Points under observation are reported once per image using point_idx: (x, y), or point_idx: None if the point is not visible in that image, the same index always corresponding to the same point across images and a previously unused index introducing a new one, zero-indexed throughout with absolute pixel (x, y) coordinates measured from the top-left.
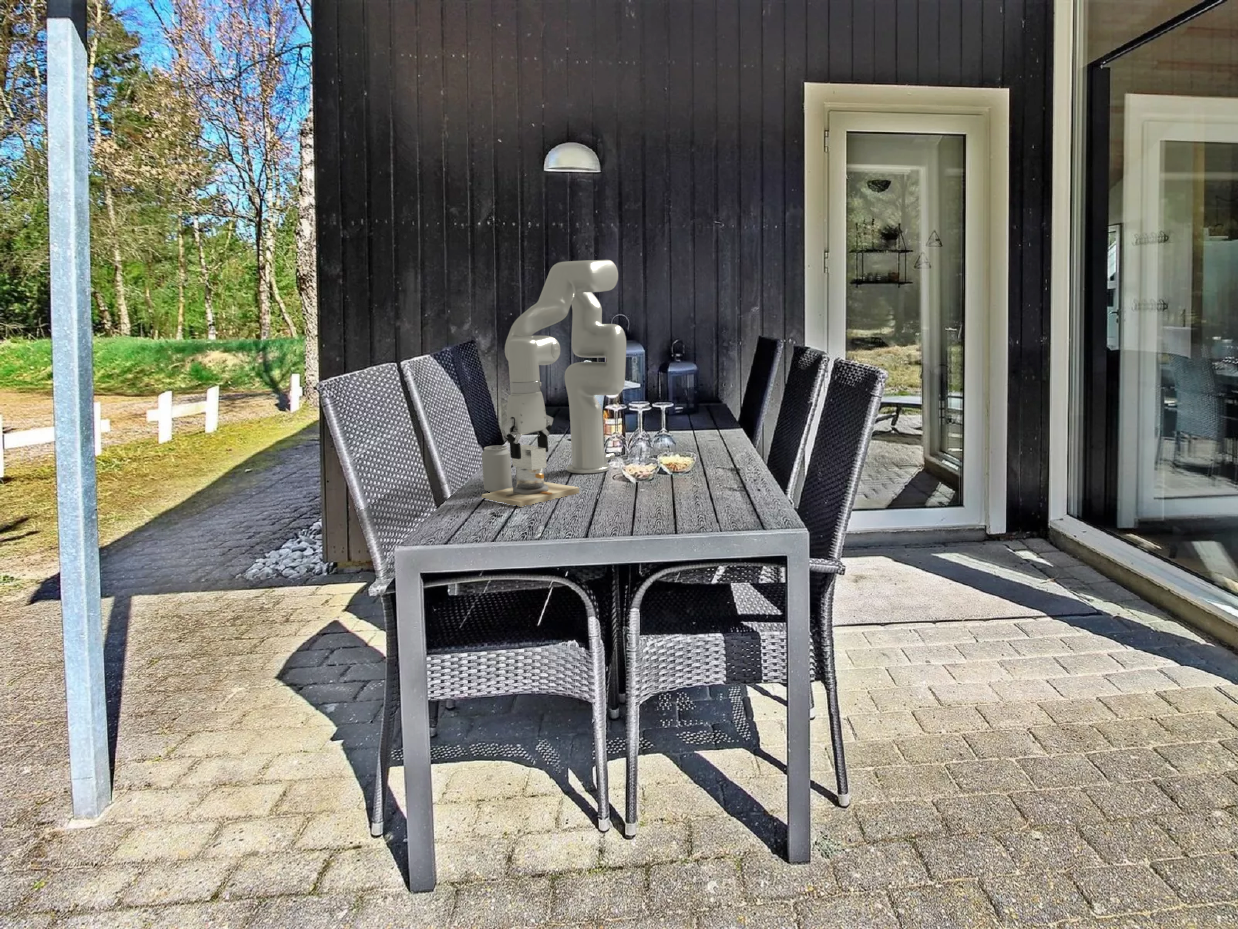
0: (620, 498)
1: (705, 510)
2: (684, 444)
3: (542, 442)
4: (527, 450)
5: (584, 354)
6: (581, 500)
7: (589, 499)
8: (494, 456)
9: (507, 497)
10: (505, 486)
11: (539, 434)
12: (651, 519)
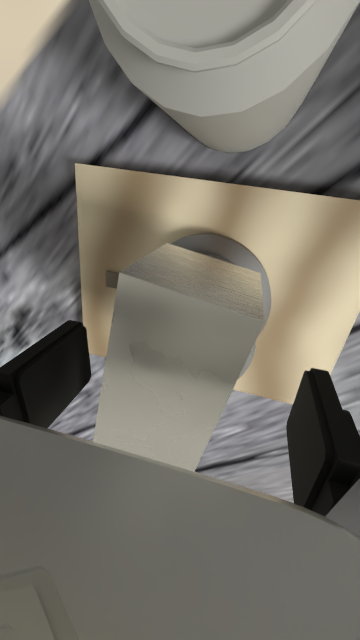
0: (282, 494)
1: None
2: None
3: (301, 457)
4: (95, 432)
5: None
6: (227, 432)
7: (245, 443)
8: (120, 64)
9: (97, 287)
10: (217, 149)
11: (332, 501)
12: None
